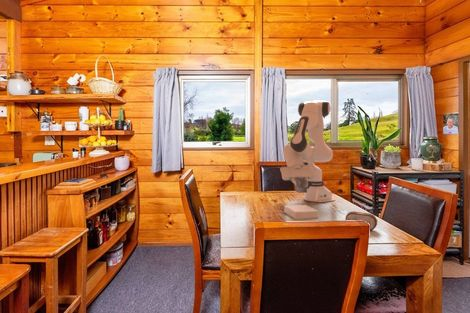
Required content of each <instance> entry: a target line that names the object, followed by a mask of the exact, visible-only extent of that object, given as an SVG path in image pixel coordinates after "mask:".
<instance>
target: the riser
mask: <svg viewBox="0 0 470 313" xmlns="http://www.w3.org/2000/svg"><path fill="white" fill-rule="evenodd" d="M283 208H284V212H283V213H285V214H286V215H288V216H290V217H291V218H293V219H294V218H295V219H294V220H303V219H304V220H305V218H306V219H316V218H317V219H318V218H319V210H317V209H315V208H313V207H311V206H309V205H307V204H293V205H292V204H291V205H284V207H283Z"/></svg>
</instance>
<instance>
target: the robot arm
mask: <svg viewBox="0 0 470 313" xmlns="http://www.w3.org/2000/svg"><path fill="white" fill-rule="evenodd" d="M297 107H298V108H297V111H298V115H299V116H300V118H299V119H298V121H297V126H296V129H295V132H294V135H293V137H292V138H291V139H290V143H288V144H286V145H285V146H284V147H283V150H282V153H283V158H284V160H285V162H286V166H281V167H280V168H279V171H280V173H281V179H282V180H283V181H291V182H292V183H293V184H294V186H295V185H298V182H296V180H306V181H307V193H304V196H303V200H305V201H307V202H315V203H327V202H335V201H336V198H334V197H333V194H332V191H331V190H329V189H328V188H327V187H326V186H325V185H327V184H328V183H327V181H324V180H323V171H322V169H321V168H320V167H319V166H317V165H316V164H315V163H327V162H330V161H332V160H333V158H334V157H333V156H334V152H333V149H332V148H330V147H329V146H328V144H326V142H325V139H324V138H325V137H324V119H325V118H326V117H328V116H329V115H330V112H331V105H330V102H329V101H326V100H313V101H302V102H300V103H299V104H298V106H297ZM306 134H307V137H306ZM307 139H308V140H309V141H311V142H312V143H313V144H314V145H315V146H311V145H310V144H311V143H309V141H308V140H307Z"/></svg>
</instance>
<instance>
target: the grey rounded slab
mask: <svg viewBox="0 0 470 313" xmlns="http://www.w3.org/2000/svg"><path fill="white" fill-rule="evenodd" d="M345 220H363V221H366V222H367V223H369V224H370V231H373V230H374V229H375V228H377V225H378V219H377V218H376V216H375V215H373V214H372V213H367V212H360V211H350V212H348V213H347V214H346V216H345Z"/></svg>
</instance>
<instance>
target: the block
mask: <svg viewBox="0 0 470 313" xmlns="http://www.w3.org/2000/svg"><path fill="white" fill-rule="evenodd" d="M295 181H296V182H298V185H295V184H294V186H295V192H296V193H298V194H302V193H303V194H305V193H307V181H306V180H295Z"/></svg>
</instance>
